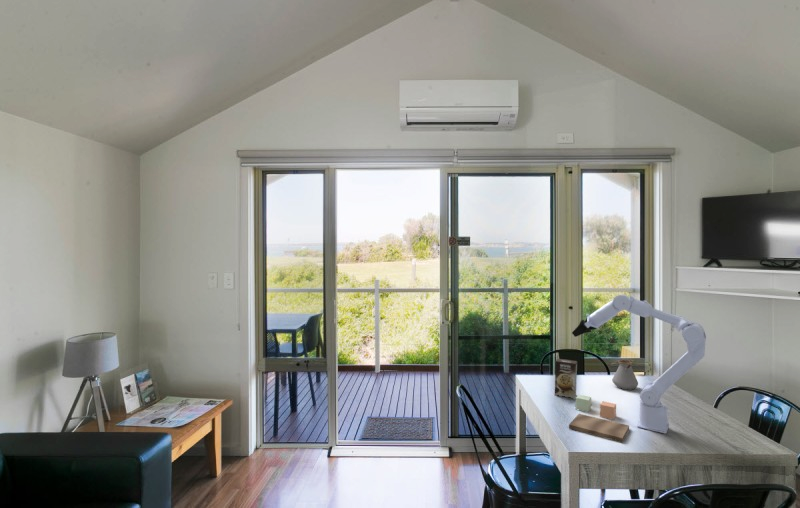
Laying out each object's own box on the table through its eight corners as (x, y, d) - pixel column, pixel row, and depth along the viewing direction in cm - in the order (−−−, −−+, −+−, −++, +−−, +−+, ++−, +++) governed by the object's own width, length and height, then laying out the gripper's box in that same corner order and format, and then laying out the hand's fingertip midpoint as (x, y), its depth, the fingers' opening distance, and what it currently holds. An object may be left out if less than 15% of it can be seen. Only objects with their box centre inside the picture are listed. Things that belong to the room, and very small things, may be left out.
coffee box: (554, 395, 193) (554, 360, 193) (556, 391, 199) (556, 357, 198) (575, 399, 189) (576, 363, 189) (576, 394, 194) (577, 360, 194)
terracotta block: (616, 416, 169) (616, 404, 169) (613, 420, 165) (613, 407, 165) (602, 413, 172) (602, 401, 172) (599, 416, 168) (600, 404, 168)
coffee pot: (611, 382, 214) (611, 353, 214) (636, 385, 210) (636, 356, 210) (615, 395, 194) (615, 363, 194) (643, 399, 190) (643, 366, 190)
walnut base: (629, 429, 156) (629, 425, 156) (622, 442, 145) (622, 438, 145) (578, 417, 167) (578, 413, 167) (568, 428, 156) (569, 424, 156)
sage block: (590, 408, 177) (591, 397, 177) (588, 412, 173) (588, 400, 173) (578, 406, 180) (578, 394, 180) (575, 409, 176) (575, 397, 176)
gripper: (600, 305, 177) (574, 323, 183) (591, 308, 165) (564, 327, 172) (611, 319, 174) (585, 337, 180) (604, 323, 162) (576, 342, 169)
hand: (576, 333), depth 176 cm, fingers open, 7 cm apart
